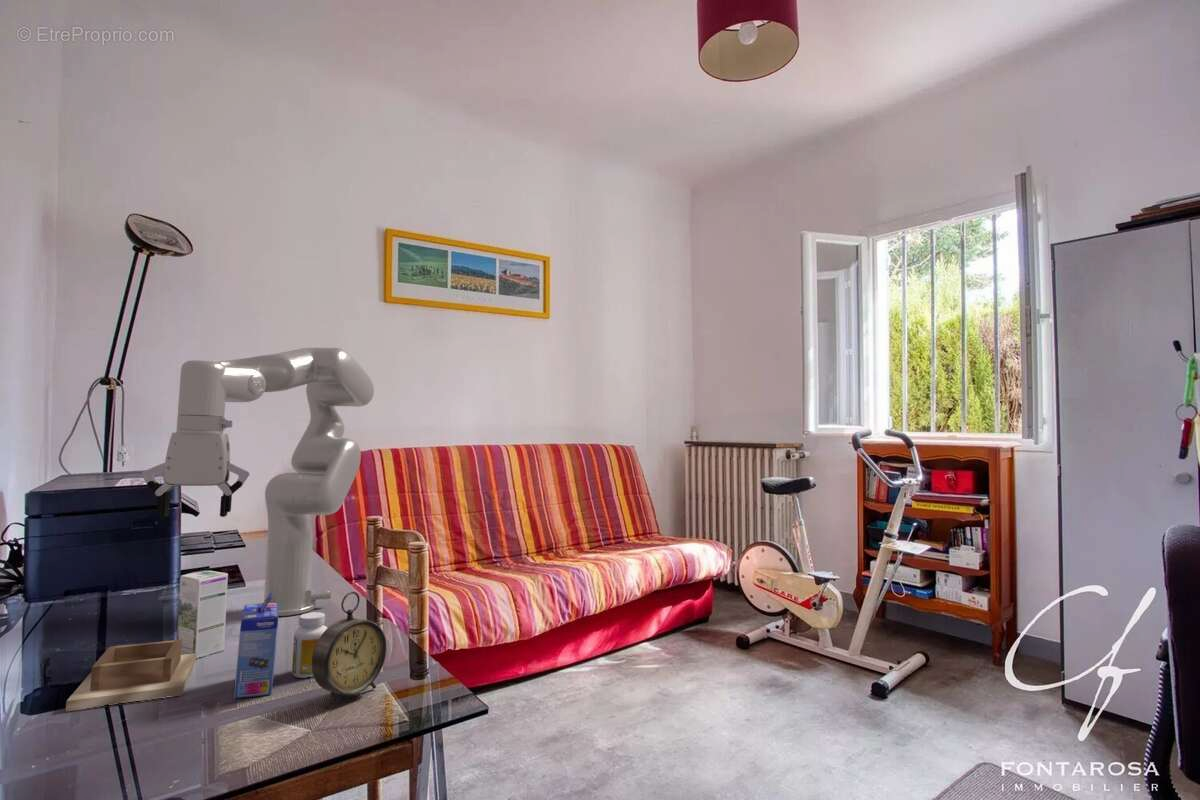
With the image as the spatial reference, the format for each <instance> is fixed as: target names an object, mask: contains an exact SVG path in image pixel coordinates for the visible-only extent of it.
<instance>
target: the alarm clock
mask: <svg viewBox="0 0 1200 800" xmlns="http://www.w3.org/2000/svg"><path fill="white" fill-rule="evenodd" d="M352 594H353V595H355V596H356V598H357V603H356V606H355V607H354V608H353V609H350V608H349V609H347V610H345V608H344V602H345V600H346V598H347V597H348V596H349V595H352ZM359 604H360V595H359V593H358V592H356V591H350V592H347V593H346V594H345V596H343V598H342V600H341V605H340V606H341V610H342V612H343V613H345V614H347V617H345V618H343V619H342V618H340V619H339V620H337V621H335V622H334V623H332V624H331V625H330V626H327V629H326V630H325V631H324V633H323V634H322V635H321V637H320V638H319V640H318V642H317V644H316V646H315V649H314V652H313V656H312V672H313V676H314V677H313V678H314V680H315V681H316V683H317V684H318V686H319V687H321V688H322V689H323V690H326V691H327V692H330V694H329V696H328V697H327V701H326V703H325V704H324V706H323V707H324V709H328V708H330V704H331V702H332V701H333V699H334V697H335V695H341V696H354V695H357V694H359V693H361V692H363V691H365V690H366V689H367V688H369V686H370V687H371V688H372V689H373V690H375V689H376V688H377V685H376V684H374V682H375V680H376V679H377V677H378V676H379V675H380V672H381V670H382V668H383V666H384V663H385V661H386V660H385V659H386V655H387V639H386V636H385V633H384V631H383V629H382V628H381V626H380V625H379V624H377V623H376V622H375V621H373V620H370V619H362V618H359V617H358V618H357V617H354V616H353V613H354V612H355V611H356V610H357V608H358V607H359ZM374 688H375V689H374Z"/></svg>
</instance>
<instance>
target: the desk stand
mask: <svg viewBox="0 0 1200 800" xmlns="http://www.w3.org/2000/svg"><path fill="white" fill-rule="evenodd" d="M181 645H182V640H177V639H173V640H165V641H153V642H145V643H135V644H124V645H114V646H109V647H108V648H107V649H106V650H105V651H104V653H102V655H100V657H99V658H98V660H97V661H96V662H95V663H94V664H93V665H92V667H91V672H90V673H89V674H88V675H87V676H86V677H85V679H84V680H83V681H82V682H81V684H80V685H79V686H78V687H77V688H76V690H74V692H73V693H72V694H71V695H70V696H69V698H67V700H66V703H65V712H71V711H72V712H74V711H81V710H88V709H87V708H89V709H94V708H93V707H95V706H101V705H107V704H108V705H109V704H114V703H126V702H133V701H139V700H144V699H153V698H159V697H167V696H179V697H181V696H180V695H182V696H183V693H184V691H185V689H186V686H187V684H188V682H187V681H189V680H190V677H191V675H192V673H191V671H192V672H193V670H194V668H195V666H194V664H195V665H196V663H197V659H196V656H197V653H194V654H185V655H181ZM195 662H196V663H195ZM193 667H194V668H193ZM192 669H193V670H192ZM190 674H191V675H190ZM189 676H190V677H189ZM188 679H189V680H188ZM184 688H185V689H184ZM183 690H184V691H183ZM126 704H127V703H126ZM91 707H92V708H91Z"/></svg>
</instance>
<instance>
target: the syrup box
mask: <svg viewBox="0 0 1200 800" xmlns="http://www.w3.org/2000/svg"><path fill="white" fill-rule="evenodd" d="M228 578H229V574H228V573H226V572H220V571H215V570H214V571H213V570H199V571H194V572H190V573H186V574H183V575H180V579H179V582H180V583H179V597H178V613H177V615H178V616H177V630H176V631H177V634H176V640H182V645H181V655H185V654H194V653H197V656H196V658H198V659H200V658H199V657H201V656H206V655H209V654H212V655H214V654H213V653H216V652H218V651H220V650H223V649H224V650H225V637H226V617H227V598H228V596H227V595H228ZM216 654H217V653H216ZM209 656H210V655H209ZM206 657H207V656H206Z"/></svg>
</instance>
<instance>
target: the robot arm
mask: <svg viewBox="0 0 1200 800" xmlns="http://www.w3.org/2000/svg"><path fill="white" fill-rule="evenodd" d="M304 385H306V386H305V387H306V389H305V393H306V398H307V402H308V408H309V414H310V419H309V423H308V426H307V427H306V429H305V431H304V433H303V434H302V437H301V438H300V440H299V442H298V443H297V446H296V448H295V449H294V451H293V453H292V456H291V459H290V460H291V461H290V462H291V463H290V464H291V467H292V469H293V470H294V471H295V472H284V473H280V474H277V475H275V476H274V477H272V478H271V479H270V480H269V481H268V483H267V485H266V487H265V490H264V491H265V492H264V500H265V507H266V512H267V543H266V557H265V558H266V559H265V576H264V577H265V578H264V592H263V602H262V603H264V602H265V600H266V598H267V597H268V596H269V594H270V593H271V592H272V599H271V600H270V602H269V603H278V617H287V616H295V615H300V614H301V615H302V614H306V613H309V612H312V610H314V609H316V607H317V600H331V597H332V595H331V594H332V591H331V590H330V589H329V590H325V589H319V590H315V589H312V585H311V577H312V576H311V574H312V573H311V572H312V558H313V556H312V555H313V541H314V539H313V538H314V533H313V532H314V530H313V526H312V524H311V521H310V519H309V517H308V515H311V516H312V515H315V516H329V515H333V514H335V513H336V512H338V511H339V510H340V509H341V508H342V505H343V504H344V502H345V499H346V498H347V496H348V493H349V491H350V490H351V487H352V485H353V482H354V480H355V478H356V476H357V475H358V474H357V473H358V471H359V469H360V466H361V459H362V456H361V455H362V453H361V448H360V446H359V444H358V443H357V442H356V441H355V440H353V439H351V438H347V437H343V436H344V434H345V433H344V432H345V424H344V422H343V419H342V418H341V416H340V414H339V413H338V411H337V409H336V407H354V408H355V407H357V408H358V407H364V406H366V405H368V404H369V403H370V402H372V399H373V397H374V392H375V388H374V383H373V381H372V379H371V377H370V376H369V374H368V373H367V372H366V370H364V368H363V367H362V366H361V365H360V363H358V361H357V360H356V359H355V358H354V357H353V356H352V355H351V354H350V353H349V352H348V351H346V350H344V349H342V348H339V347H303V348H297V349H292V350H288V351H283V352H277V353H272V354H271V353H270V354H265V355H264V354H263V355H257V356H252V357H245V358H236V359H229V360H221V361H212V360H211V361H210V360H200V359H199V360H195V359H194V360H187V361H185V362H183V363H182V365H181V367H180V377H179V388H178V389H179V392H178V407H177V415H176V416H177V417H176V419H177V420H176V430H175V432H172V433H171V435H170V438H169V442H168V446H167V450H166V455H165V461H164V462H163V463H160V464H158V465H156V466H153V467H151V468H149V469H146V470H144V471H142V472H141V476H142V478H143V480H144V482H145V483H146V487H147V488H149V489H150V490H151V491H152V493H154V495H155V496H157V500H156V513H157V514H159V515H158V517H159V519H162V518H163V519H164V518H166V517H168V516H169V514H170V503H171V495H170V494H169V492H170V491H171V490H172V489H173V488H174V487H177V486H178V487H180V486H181V487H183V486H186V487H187V486H188V487H189V486H190V487H192V486H193V487H195V486H196V487H198V486H200V487H201V486H202V487H204V486H205V487H207V486H208V487H211V486H213V487H214V486H217V487H218V488H219V489H220V491H222V495H221V496H220V507H219V517H221V518H225V517H227V515H228V513H230V512H231V510H232V500H233V499H232V497H233V494H234V493H236V492H237V491H238V490H239V489H240V488H241V487H243V485H244V484H245V482H246V481H247V479H248V478H249V476H250V471H248V470H246V469H244V468H242V467H239V466H237V465H235V464H233V463H231V454H230V453H231V451H230V450H231V449H230V447H231V446H230V439H229V434H228V433H224V431H225V429H228V428H230V429H231V428H232V427H233V420H229V419H227V418H226V417H225V410H226V409H225V408H226V403H251V402H254V401H256V400H258V399H259V398H261V397H262V396H263V394H265V393H275V392H276V393H277V392H282V391H288V390H291V389H293V388H297V387H301V386H304ZM162 472H163V482H164V483H162V484H160V483H159V482H158V481H156V479H155V475H156V474H159V473H162ZM231 473H234V474H235V475H237V476H238V478H237V479H236V481H235V482H234V483H233V484H232V485H230V483H229V480H230V474H231Z"/></svg>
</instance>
